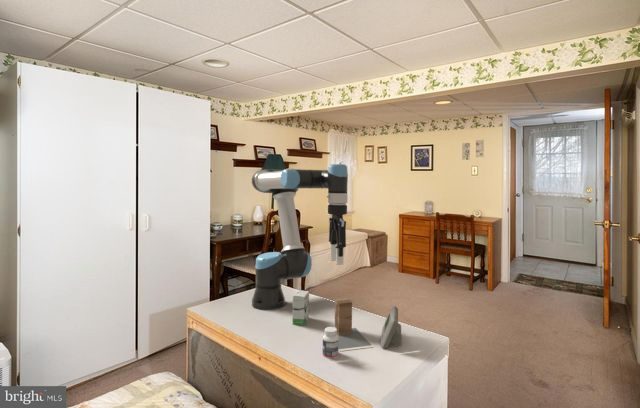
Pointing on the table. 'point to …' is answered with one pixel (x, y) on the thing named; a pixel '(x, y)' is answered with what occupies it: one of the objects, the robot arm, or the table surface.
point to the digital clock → (391, 330)
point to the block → (343, 316)
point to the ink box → (300, 307)
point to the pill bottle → (330, 343)
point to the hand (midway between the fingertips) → (336, 262)
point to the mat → (353, 341)
